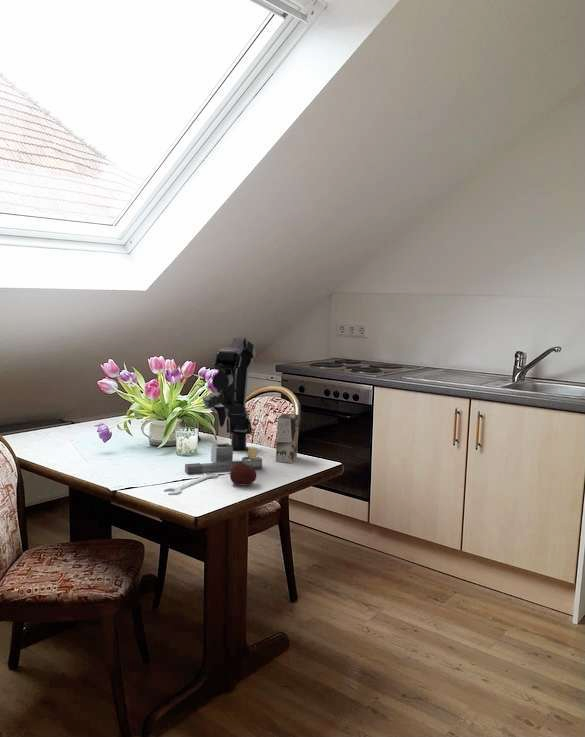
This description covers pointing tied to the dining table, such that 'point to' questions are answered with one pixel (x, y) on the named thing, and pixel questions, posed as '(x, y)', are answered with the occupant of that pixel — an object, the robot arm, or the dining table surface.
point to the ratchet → (225, 464)
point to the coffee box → (287, 438)
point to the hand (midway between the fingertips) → (226, 429)
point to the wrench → (191, 483)
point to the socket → (221, 453)
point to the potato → (242, 474)
